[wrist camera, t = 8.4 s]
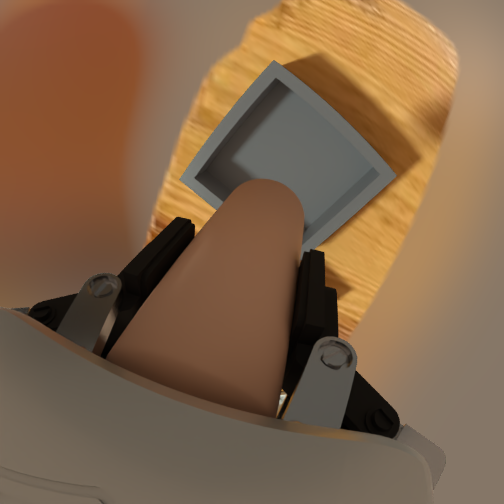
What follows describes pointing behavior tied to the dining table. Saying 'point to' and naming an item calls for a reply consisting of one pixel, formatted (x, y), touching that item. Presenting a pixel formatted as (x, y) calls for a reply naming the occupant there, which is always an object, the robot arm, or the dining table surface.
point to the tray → (290, 154)
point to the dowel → (225, 305)
